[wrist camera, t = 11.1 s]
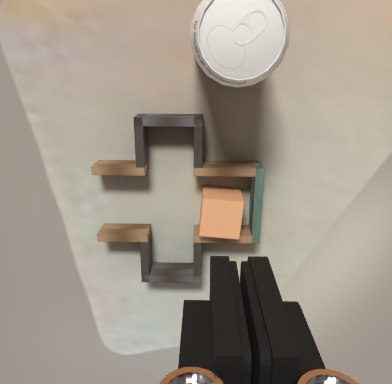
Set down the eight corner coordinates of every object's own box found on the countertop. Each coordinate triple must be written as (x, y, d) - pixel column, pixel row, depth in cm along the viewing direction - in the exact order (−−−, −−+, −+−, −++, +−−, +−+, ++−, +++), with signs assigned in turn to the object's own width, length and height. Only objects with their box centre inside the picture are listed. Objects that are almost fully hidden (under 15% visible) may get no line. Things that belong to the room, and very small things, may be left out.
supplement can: (223, 96, 45) (232, 108, 31) (179, 40, 43) (168, 26, 29) (277, 51, 43) (314, 42, 29) (234, -10, 41) (251, -51, 27)
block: (240, 189, 49) (244, 202, 44) (235, 223, 50) (239, 239, 46) (202, 185, 49) (202, 198, 44) (199, 220, 50) (199, 236, 46)
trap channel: (262, 114, 45) (267, 118, 42) (253, 269, 53) (256, 283, 49) (94, 113, 46) (86, 117, 42) (107, 267, 53) (101, 281, 50)
